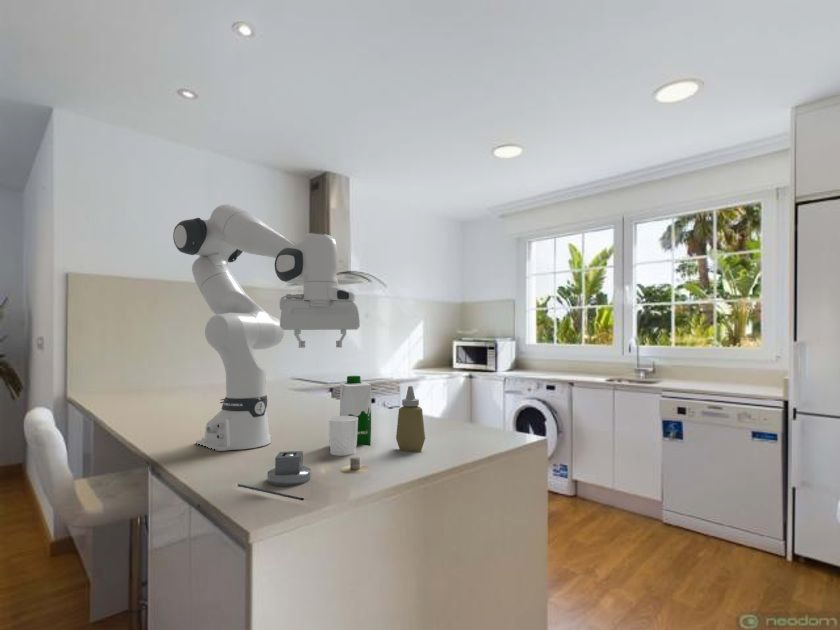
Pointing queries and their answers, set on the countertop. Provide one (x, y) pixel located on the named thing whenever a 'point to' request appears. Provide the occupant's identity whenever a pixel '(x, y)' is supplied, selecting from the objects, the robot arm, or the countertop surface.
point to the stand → (355, 467)
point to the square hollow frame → (289, 463)
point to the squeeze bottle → (410, 424)
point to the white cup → (343, 435)
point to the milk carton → (357, 406)
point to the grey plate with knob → (285, 480)
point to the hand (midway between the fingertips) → (320, 347)
